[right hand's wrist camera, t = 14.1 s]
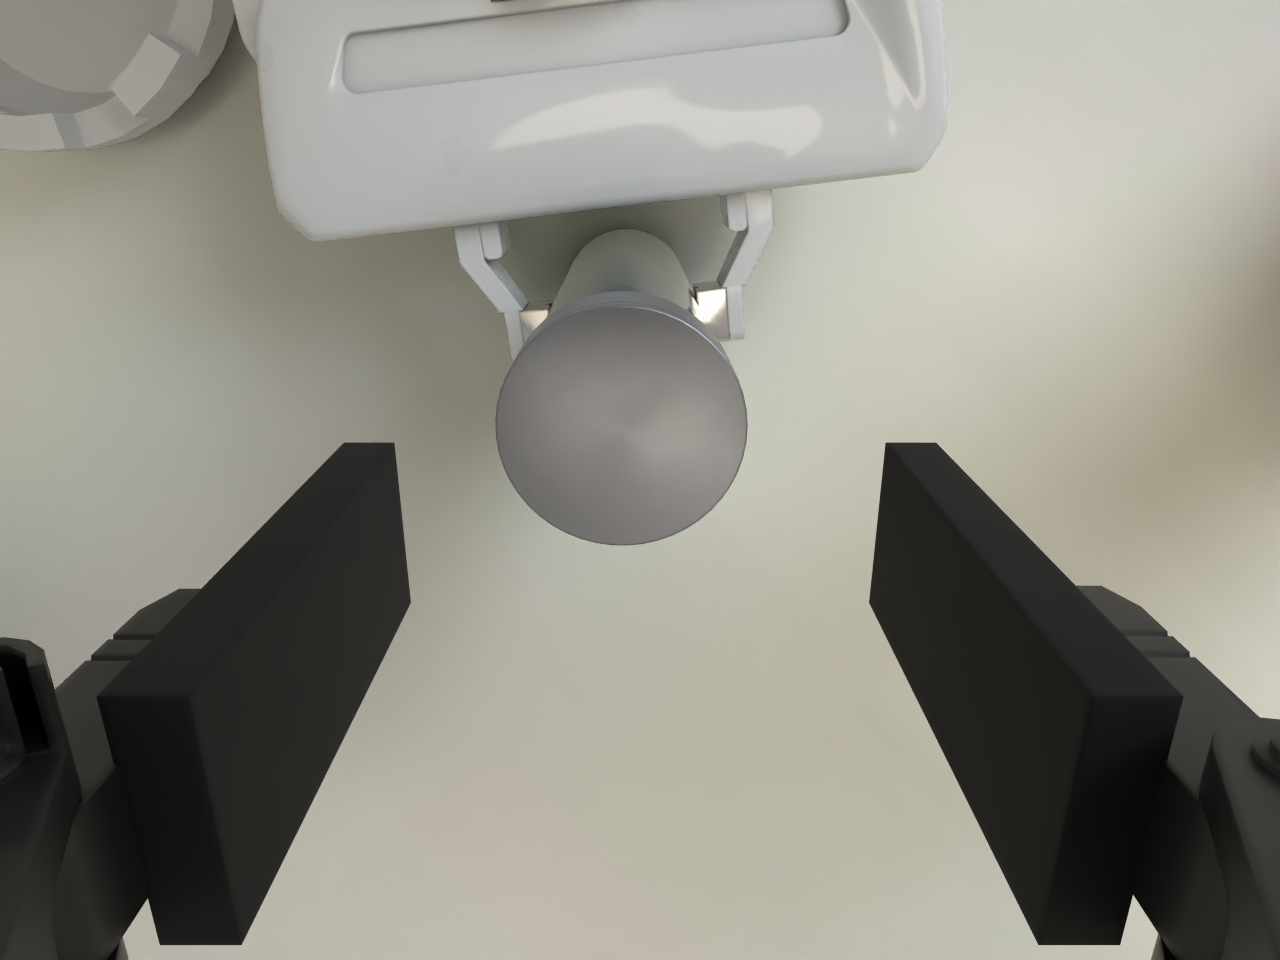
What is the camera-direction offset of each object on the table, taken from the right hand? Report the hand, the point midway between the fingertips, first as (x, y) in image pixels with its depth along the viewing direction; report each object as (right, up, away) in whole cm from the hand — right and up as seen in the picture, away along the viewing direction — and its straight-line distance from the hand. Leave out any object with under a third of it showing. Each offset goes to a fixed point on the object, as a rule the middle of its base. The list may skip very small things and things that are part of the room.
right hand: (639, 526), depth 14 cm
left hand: (0, +5, +16) cm, 17 cm away
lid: (0, +2, +5) cm, 5 cm away
